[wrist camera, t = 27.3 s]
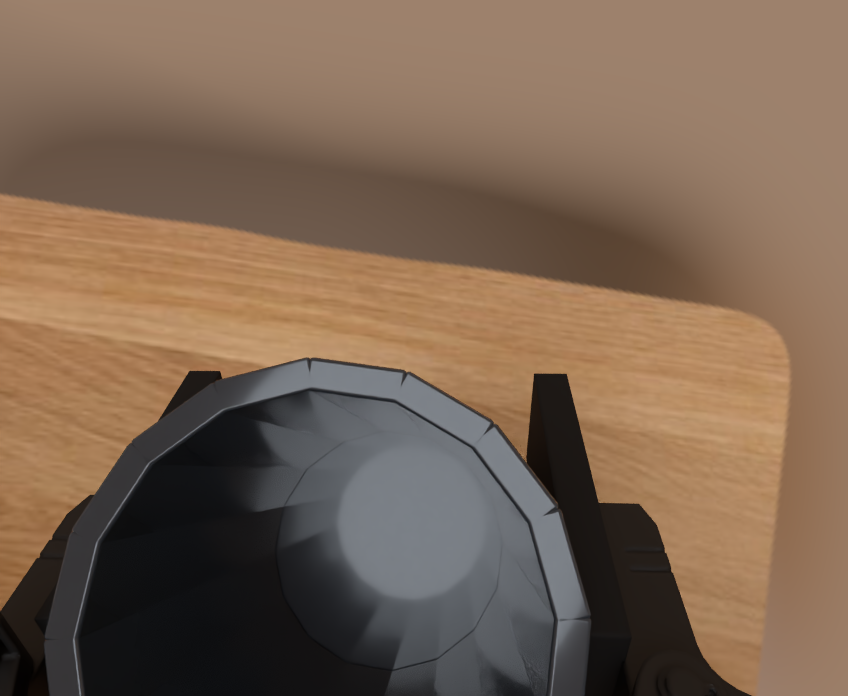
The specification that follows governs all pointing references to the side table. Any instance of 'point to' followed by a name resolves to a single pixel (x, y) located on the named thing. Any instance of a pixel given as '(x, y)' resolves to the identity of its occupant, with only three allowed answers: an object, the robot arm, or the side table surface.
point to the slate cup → (320, 551)
